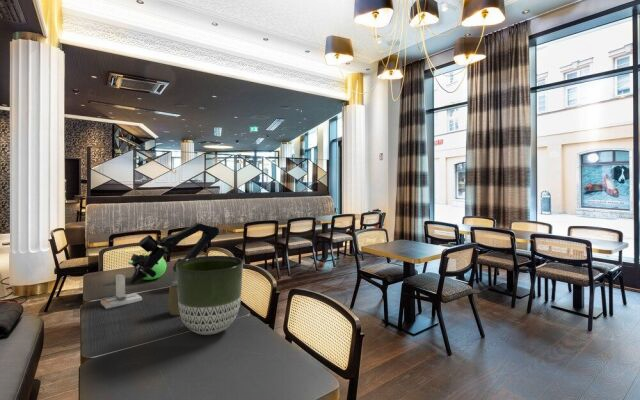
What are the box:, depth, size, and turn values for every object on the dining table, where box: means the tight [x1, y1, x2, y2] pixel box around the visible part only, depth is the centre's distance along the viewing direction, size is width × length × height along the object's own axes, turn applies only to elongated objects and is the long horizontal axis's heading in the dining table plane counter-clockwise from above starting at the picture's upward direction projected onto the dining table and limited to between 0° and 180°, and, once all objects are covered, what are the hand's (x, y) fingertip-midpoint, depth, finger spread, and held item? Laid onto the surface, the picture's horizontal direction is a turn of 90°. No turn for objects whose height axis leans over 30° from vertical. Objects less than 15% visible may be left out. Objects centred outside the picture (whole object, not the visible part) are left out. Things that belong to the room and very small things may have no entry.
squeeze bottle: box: [167, 274, 180, 316], centre depth 142 cm, size 8×8×18 cm
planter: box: [175, 255, 244, 336], centre depth 125 cm, size 24×24×27 cm
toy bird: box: [127, 252, 168, 281], centre depth 191 cm, size 18×17×15 cm
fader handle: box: [114, 273, 126, 301], centre depth 153 cm, size 3×6×11 cm, turn 47°
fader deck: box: [100, 292, 143, 310], centre depth 154 cm, size 15×9×2 cm, turn 138°
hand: (130, 283), depth 156 cm, fingers closed
